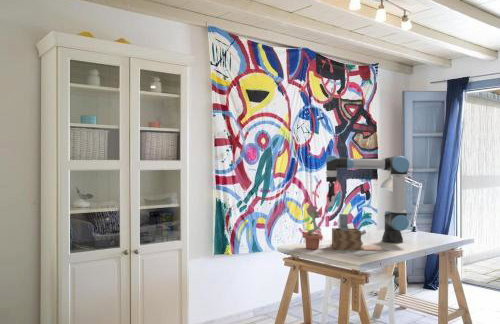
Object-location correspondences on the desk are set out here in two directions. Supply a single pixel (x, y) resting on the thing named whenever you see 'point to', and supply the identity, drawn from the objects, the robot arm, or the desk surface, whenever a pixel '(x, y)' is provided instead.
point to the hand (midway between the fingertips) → (331, 205)
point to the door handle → (362, 234)
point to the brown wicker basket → (346, 239)
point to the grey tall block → (343, 222)
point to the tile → (371, 248)
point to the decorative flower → (312, 238)
